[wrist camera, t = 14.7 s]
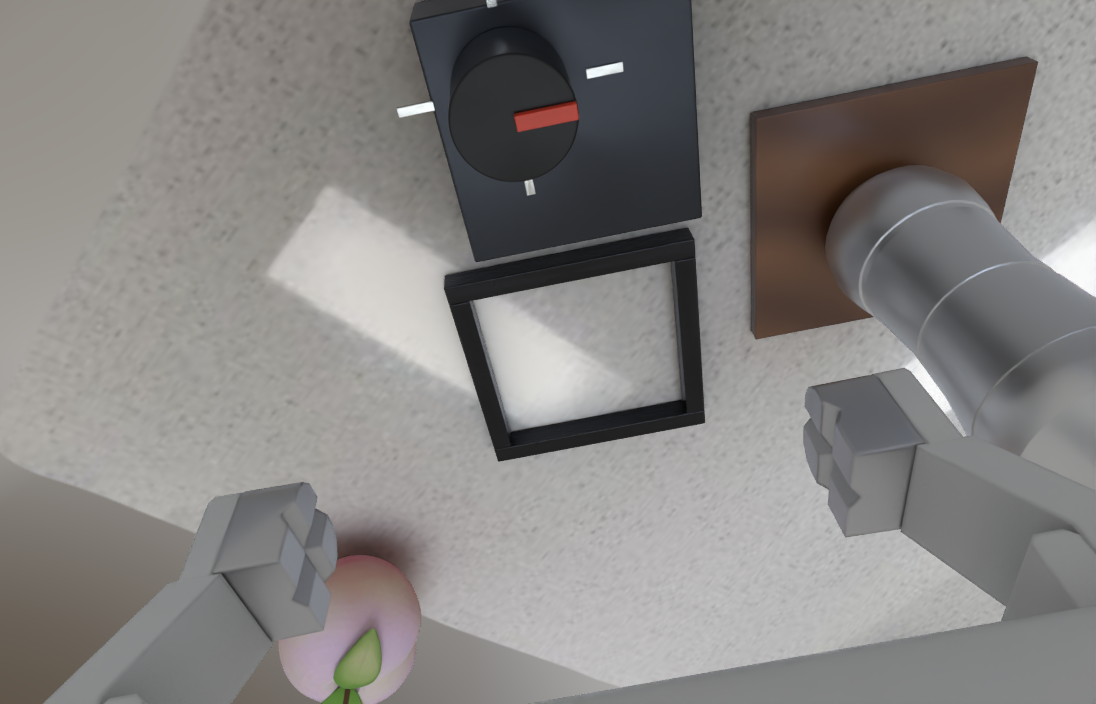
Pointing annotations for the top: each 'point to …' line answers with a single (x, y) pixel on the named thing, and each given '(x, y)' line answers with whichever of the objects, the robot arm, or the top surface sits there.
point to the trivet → (867, 173)
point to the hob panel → (604, 120)
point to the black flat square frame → (570, 268)
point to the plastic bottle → (974, 313)
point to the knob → (511, 105)
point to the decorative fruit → (358, 636)
